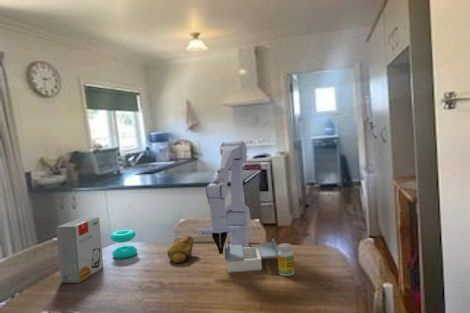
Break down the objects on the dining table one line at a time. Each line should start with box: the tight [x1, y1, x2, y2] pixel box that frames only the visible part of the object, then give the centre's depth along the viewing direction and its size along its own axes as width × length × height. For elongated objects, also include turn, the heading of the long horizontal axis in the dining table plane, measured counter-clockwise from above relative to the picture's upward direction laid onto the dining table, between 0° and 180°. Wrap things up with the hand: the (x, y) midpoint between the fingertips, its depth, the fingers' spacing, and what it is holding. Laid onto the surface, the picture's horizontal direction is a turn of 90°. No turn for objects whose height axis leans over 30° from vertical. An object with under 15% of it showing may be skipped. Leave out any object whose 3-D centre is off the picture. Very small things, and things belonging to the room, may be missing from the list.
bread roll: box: [167, 235, 194, 264], centre depth 146 cm, size 13×10×8 cm
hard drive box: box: [55, 216, 104, 284], centre depth 136 cm, size 16×8×20 cm, turn 168°
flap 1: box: [224, 241, 243, 262], centre depth 135 cm, size 15×6×2 cm, turn 1°
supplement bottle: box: [277, 242, 296, 277], centre depth 124 cm, size 5×5×10 cm
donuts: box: [110, 229, 138, 260], centre depth 155 cm, size 10×10×10 cm
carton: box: [225, 245, 263, 274], centre depth 135 cm, size 14×12×4 cm
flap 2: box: [257, 238, 280, 259], centre depth 135 cm, size 15×6×2 cm, turn 1°
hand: (221, 253), depth 135 cm, fingers closed
